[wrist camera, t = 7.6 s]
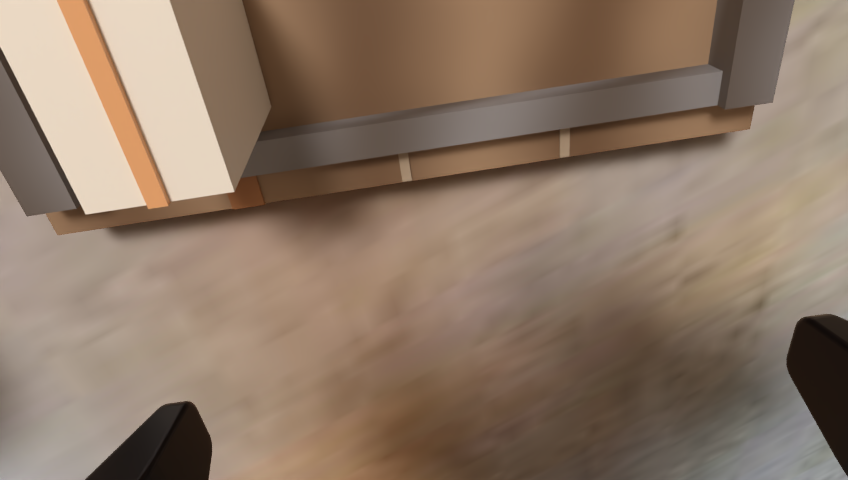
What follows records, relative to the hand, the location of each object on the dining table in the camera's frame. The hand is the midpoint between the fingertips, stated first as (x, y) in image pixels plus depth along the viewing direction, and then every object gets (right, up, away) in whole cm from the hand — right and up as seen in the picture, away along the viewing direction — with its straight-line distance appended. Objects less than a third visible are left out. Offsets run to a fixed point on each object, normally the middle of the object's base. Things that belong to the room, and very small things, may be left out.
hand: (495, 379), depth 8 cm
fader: (-7, +7, +6) cm, 12 cm away
